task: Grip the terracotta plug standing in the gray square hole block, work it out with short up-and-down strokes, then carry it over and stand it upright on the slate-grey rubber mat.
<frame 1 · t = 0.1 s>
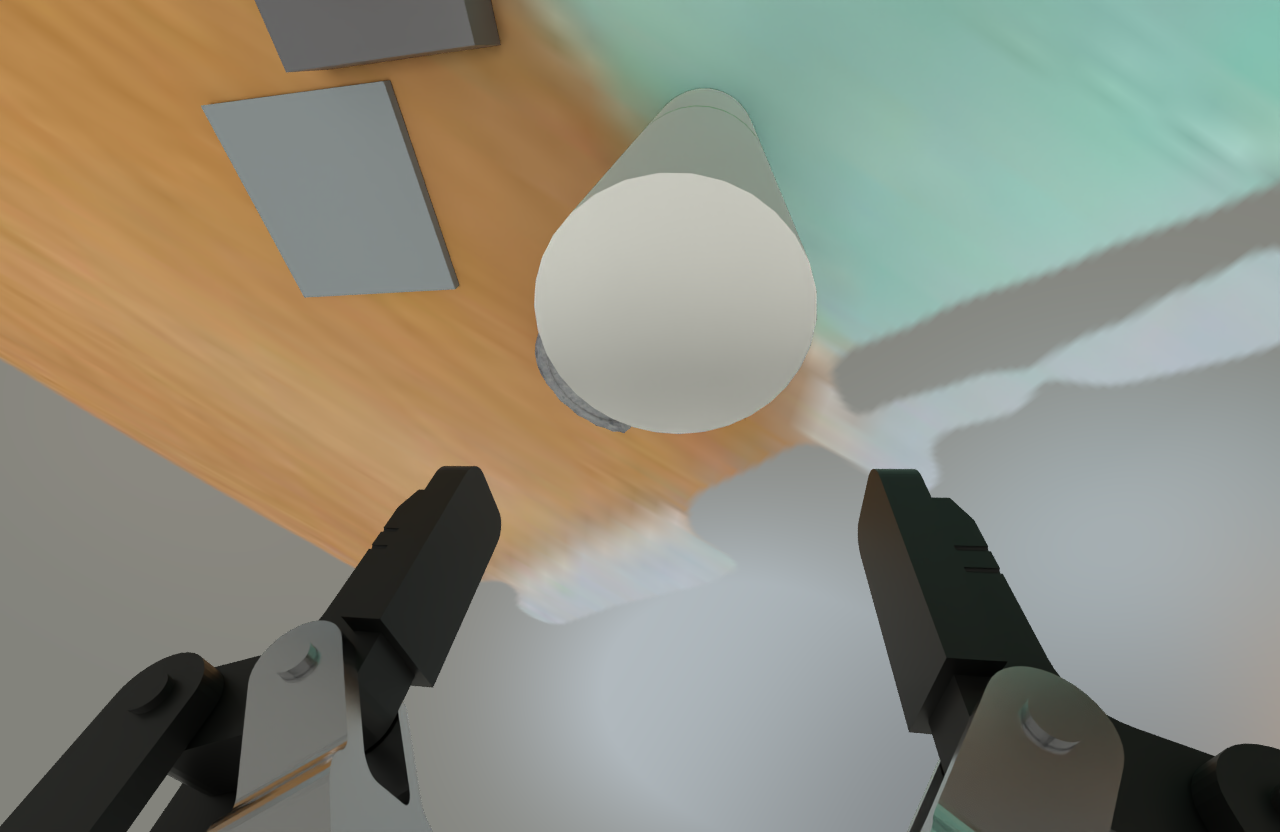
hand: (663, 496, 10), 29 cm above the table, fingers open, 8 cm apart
canned food: (601, 343, 42), on the table
mat: (344, 202, 37), on the table
cylindrical container: (700, 152, 32), on the table
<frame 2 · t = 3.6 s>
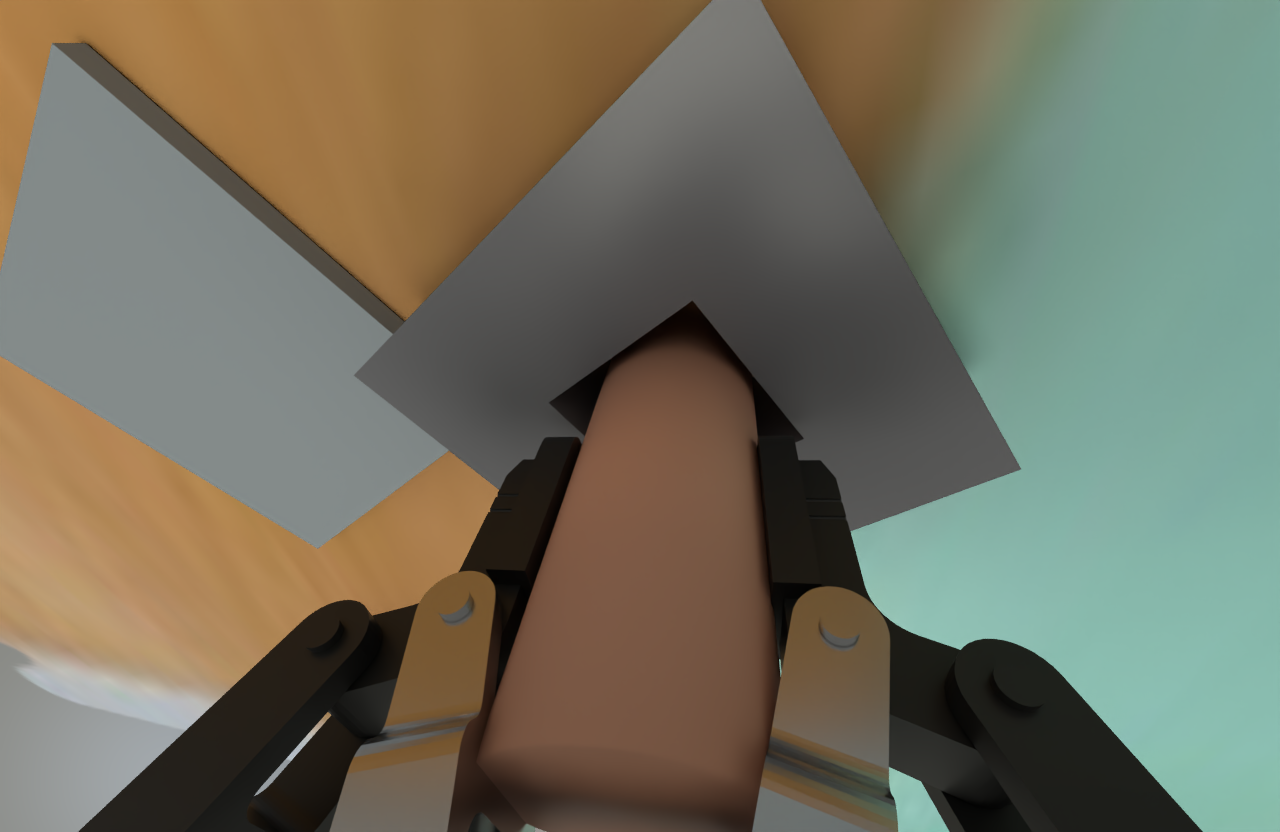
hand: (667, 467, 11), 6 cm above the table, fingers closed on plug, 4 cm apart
gray square hole block: (683, 343, 16), on the table
mat: (246, 369, 19), on the table
plug: (667, 475, 11), in the gray square hole block, touching gripper
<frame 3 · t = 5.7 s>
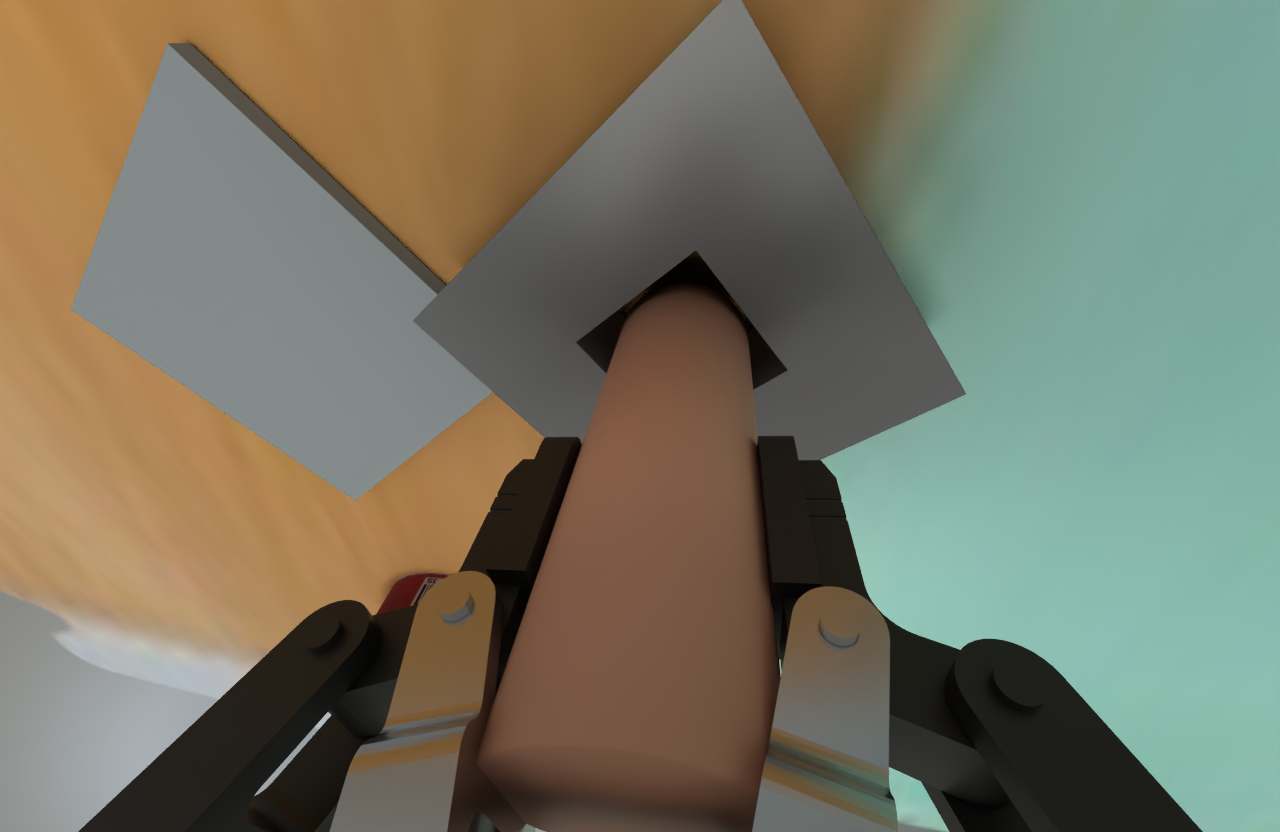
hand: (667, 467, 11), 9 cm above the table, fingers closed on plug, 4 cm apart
gray square hole block: (687, 301, 18), on the table
canned food: (460, 611, 35), on the table
mat: (301, 330, 21), on the table
plug: (667, 475, 11), point 9 cm above the table, touching gripper
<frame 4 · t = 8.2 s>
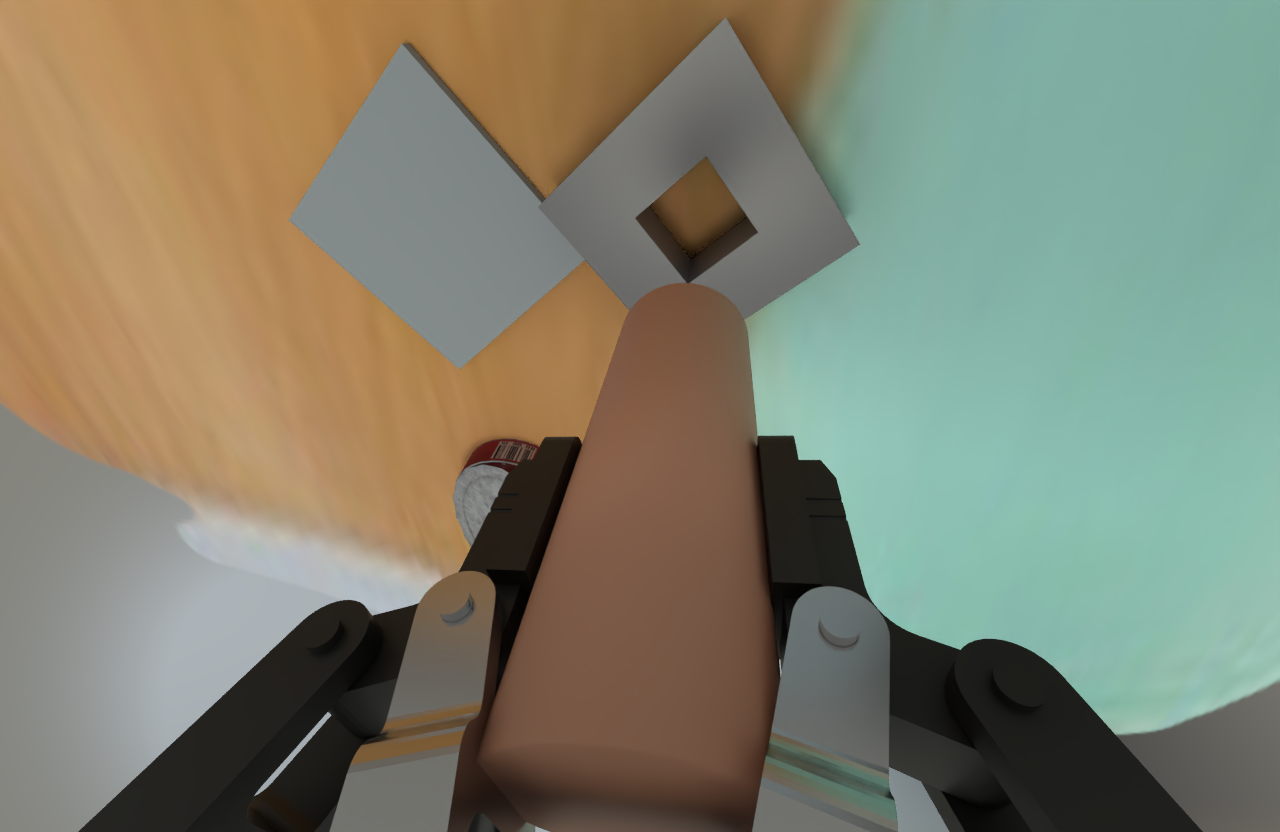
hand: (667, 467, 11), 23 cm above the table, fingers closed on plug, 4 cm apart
gray square hole block: (698, 205, 29), on the table
canned food: (521, 477, 45), on the table
mat: (441, 234, 32), on the table
plug: (667, 474, 11), point 23 cm above the table, touching gripper
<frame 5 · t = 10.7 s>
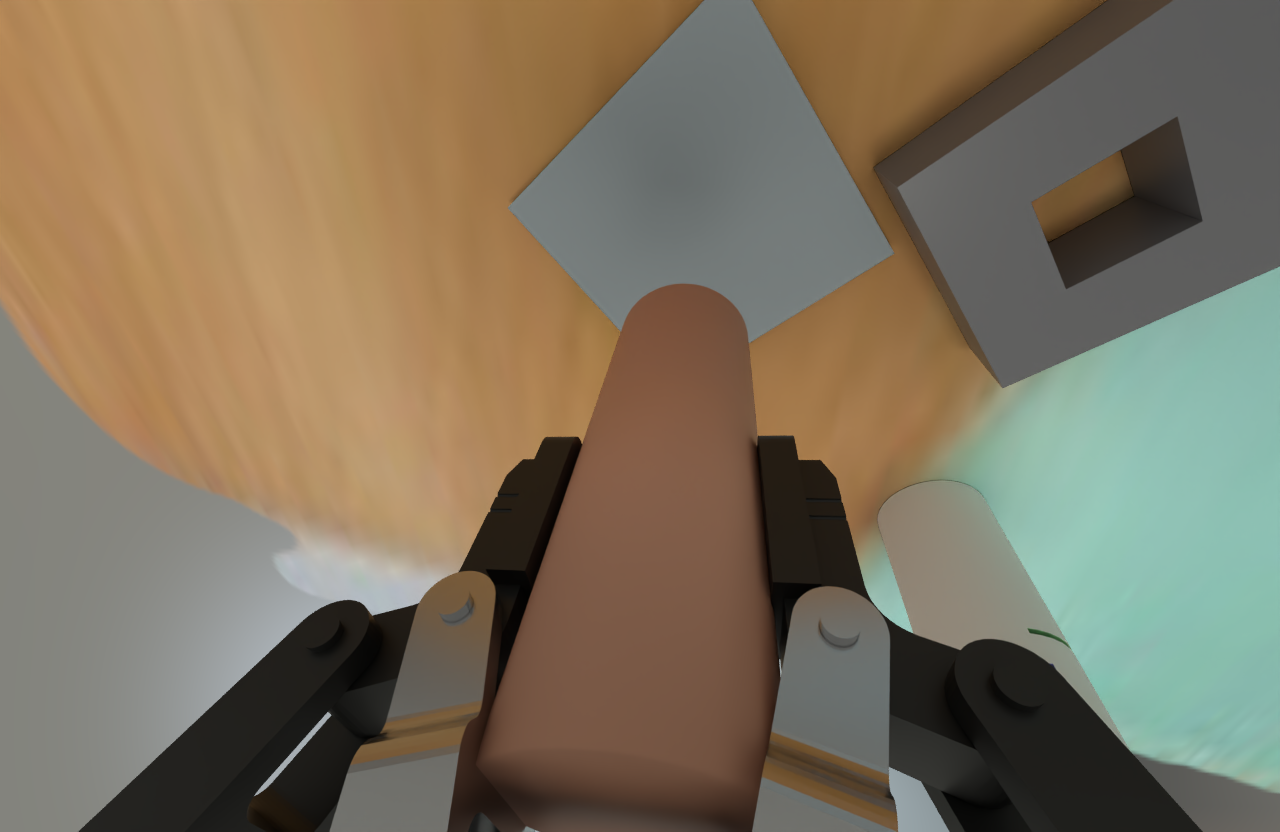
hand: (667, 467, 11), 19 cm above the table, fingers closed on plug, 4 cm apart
gray square hole block: (1060, 188, 23), on the table
mat: (697, 225, 26), on the table
cylindrical container: (929, 513, 36), on the table
plug: (667, 476, 11), point 19 cm above the table, touching gripper
when the fingers open (9 cm above the table, at t = 12.8 s): plug drops 2 cm, resting on mat.
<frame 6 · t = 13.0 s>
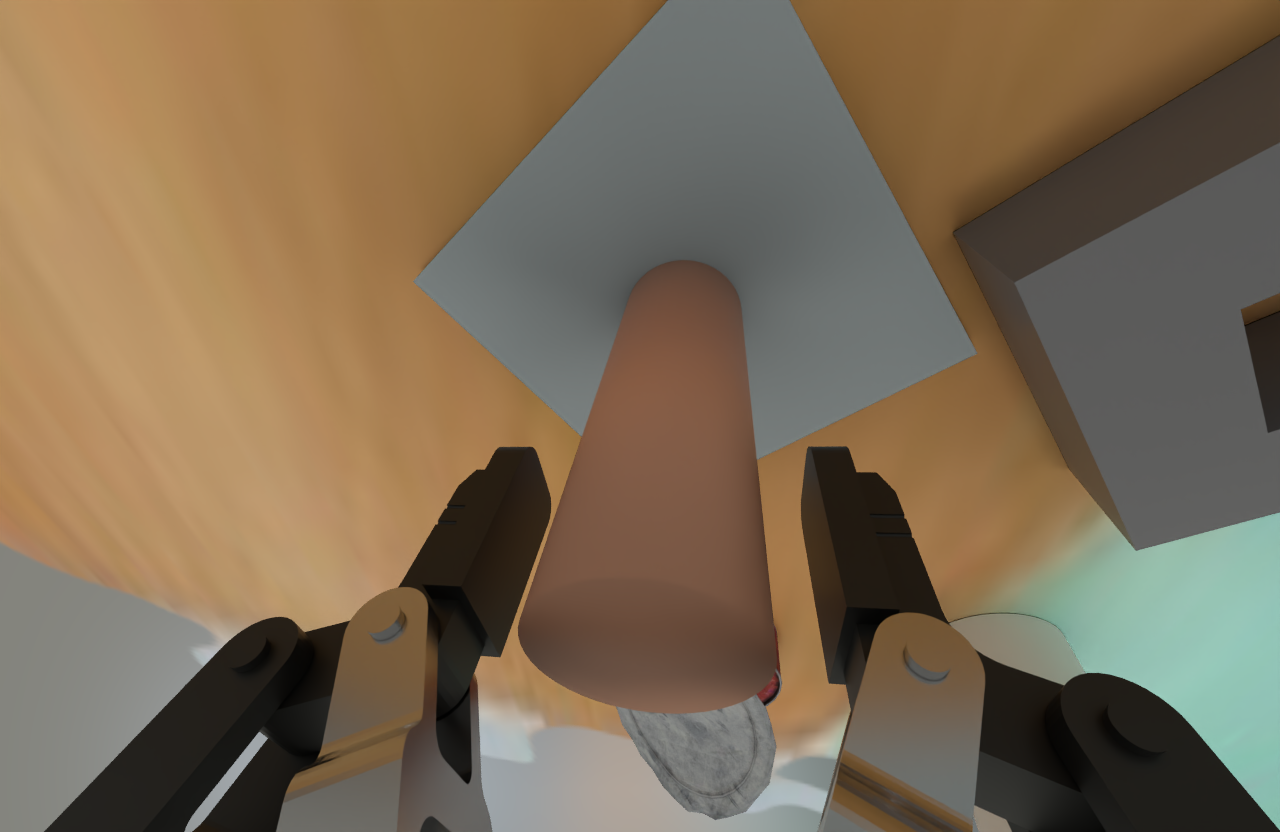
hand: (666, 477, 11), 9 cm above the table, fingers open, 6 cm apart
gray square hole block: (1243, 265, 15), on the table
canned food: (696, 628, 31), on the table
mat: (687, 306, 18), on the table
cylindrical container: (988, 645, 28), on the table
plug: (671, 421, 12), on the mat, point 7 cm above the table
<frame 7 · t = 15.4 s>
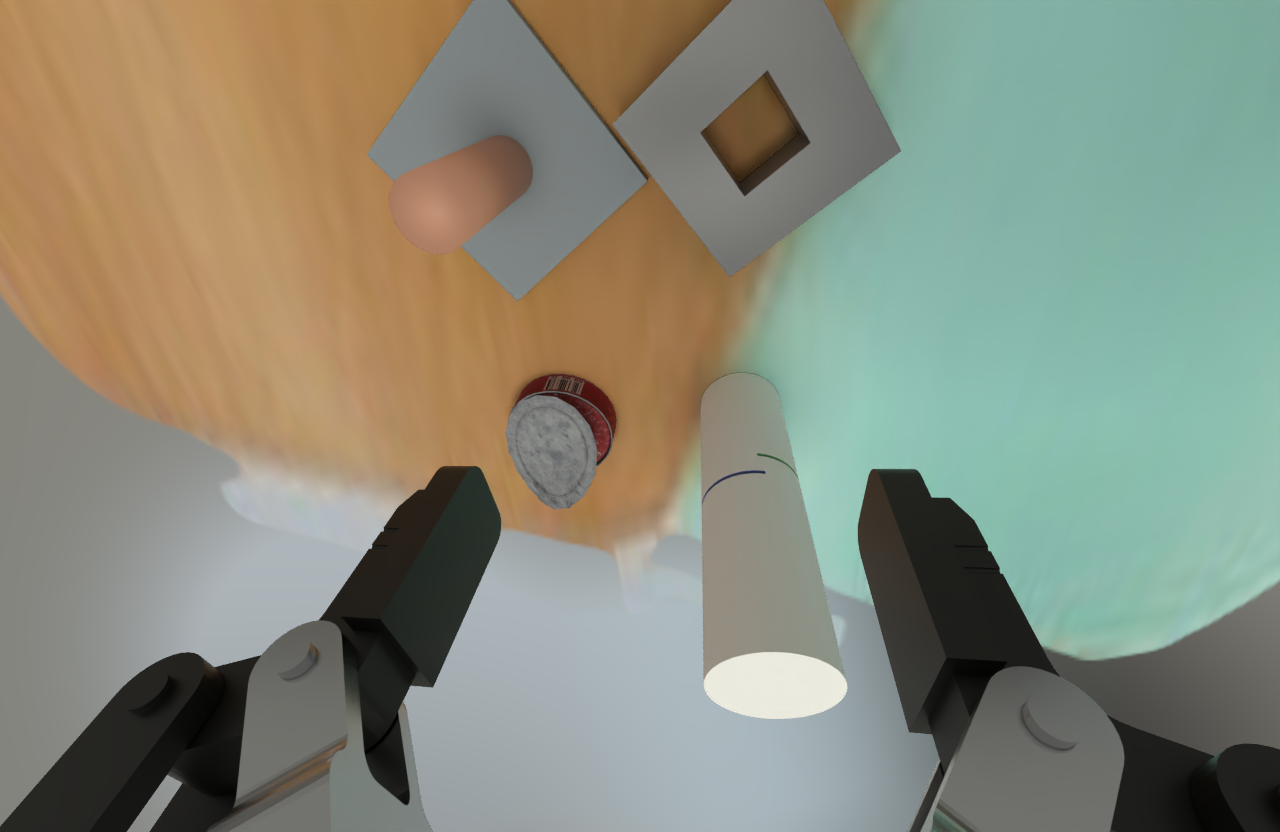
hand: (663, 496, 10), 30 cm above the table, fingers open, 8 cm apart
gray square hole block: (749, 128, 32), on the table
canned food: (566, 414, 48), on the table
mat: (509, 165, 35), on the table
cylindrical container: (739, 404, 45), on the table
plug: (473, 187, 29), on the mat, point 7 cm above the table
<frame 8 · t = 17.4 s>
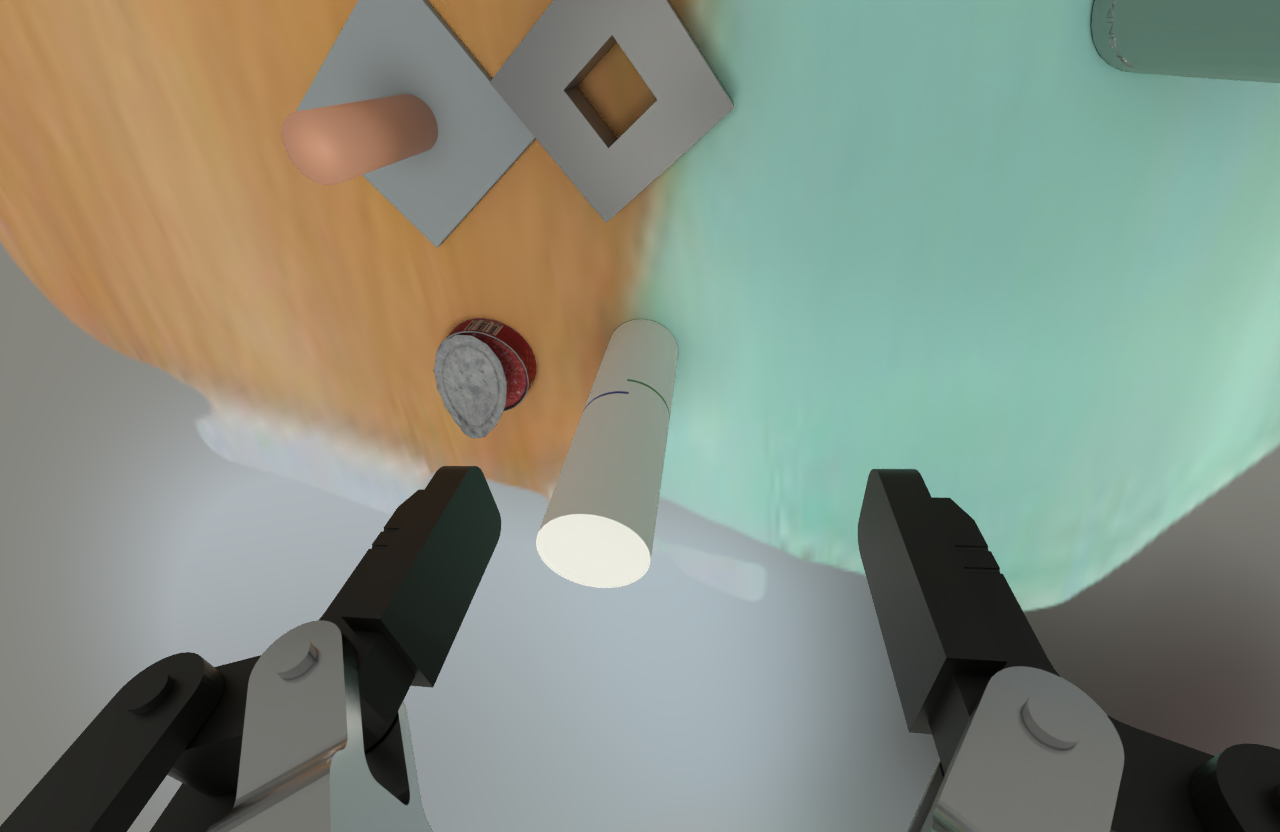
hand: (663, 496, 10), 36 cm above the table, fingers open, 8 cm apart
gray square hole block: (619, 90, 37), on the table
canned food: (492, 358, 53), on the table
mat: (419, 122, 40), on the table
cylindrical container: (643, 350, 50), on the table
plug: (371, 134, 34), on the mat, point 7 cm above the table
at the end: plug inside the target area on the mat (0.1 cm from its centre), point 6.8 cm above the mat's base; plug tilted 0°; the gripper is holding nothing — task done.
